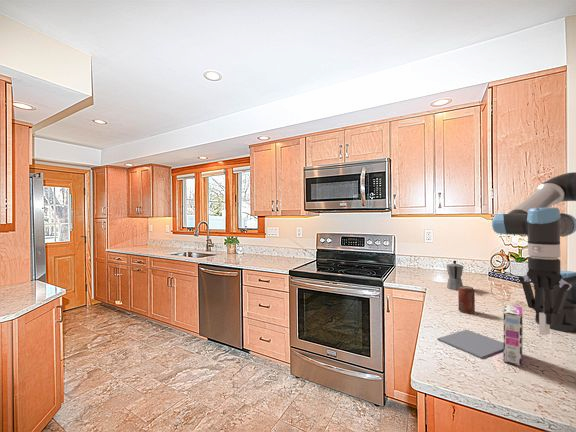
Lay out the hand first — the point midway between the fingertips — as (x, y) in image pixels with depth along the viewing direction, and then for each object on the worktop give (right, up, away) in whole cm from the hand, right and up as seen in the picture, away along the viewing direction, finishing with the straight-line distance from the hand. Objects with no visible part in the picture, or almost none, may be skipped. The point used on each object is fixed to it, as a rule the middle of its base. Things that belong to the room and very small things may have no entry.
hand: (544, 333), depth 89 cm
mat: (-10, -11, +19) cm, 24 cm away
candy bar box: (-3, -12, +8) cm, 14 cm away
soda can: (+9, -11, +54) cm, 56 cm away
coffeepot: (+28, -11, +96) cm, 100 cm away
